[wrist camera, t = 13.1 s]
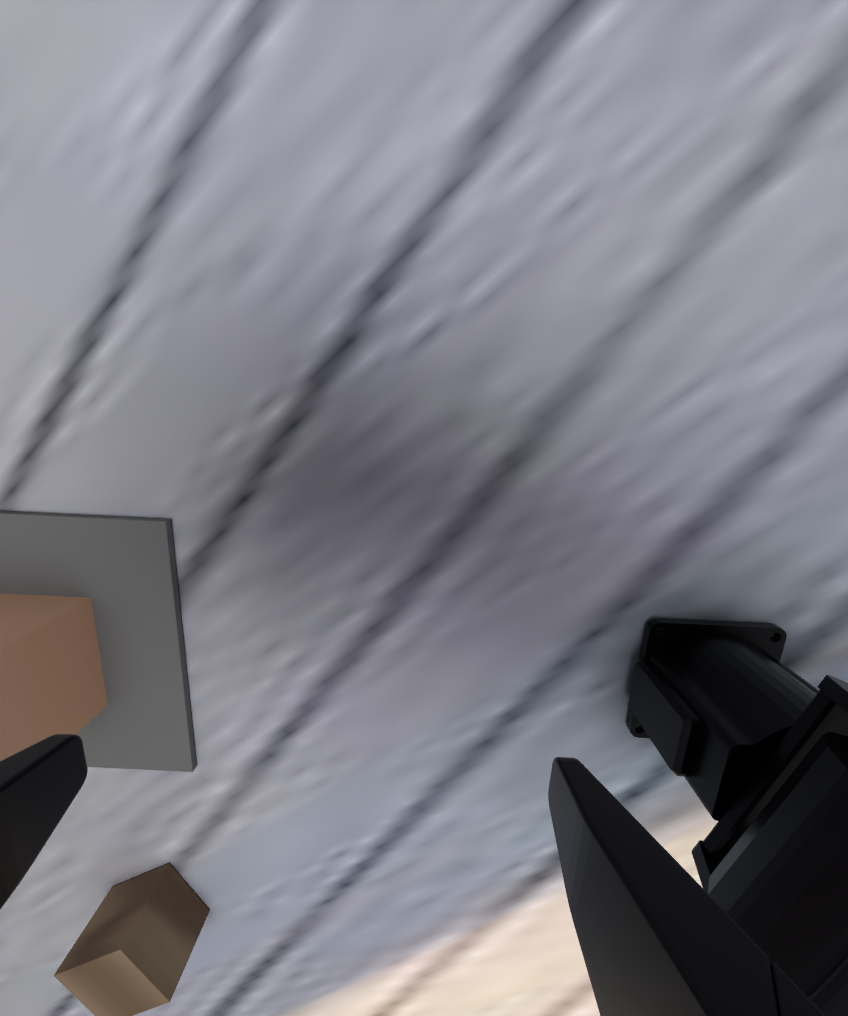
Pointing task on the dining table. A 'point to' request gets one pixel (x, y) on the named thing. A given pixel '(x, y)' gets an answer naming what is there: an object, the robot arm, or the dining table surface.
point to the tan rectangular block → (47, 669)
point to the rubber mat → (115, 625)
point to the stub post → (135, 945)
